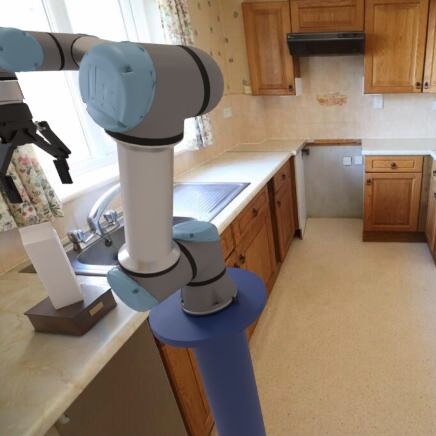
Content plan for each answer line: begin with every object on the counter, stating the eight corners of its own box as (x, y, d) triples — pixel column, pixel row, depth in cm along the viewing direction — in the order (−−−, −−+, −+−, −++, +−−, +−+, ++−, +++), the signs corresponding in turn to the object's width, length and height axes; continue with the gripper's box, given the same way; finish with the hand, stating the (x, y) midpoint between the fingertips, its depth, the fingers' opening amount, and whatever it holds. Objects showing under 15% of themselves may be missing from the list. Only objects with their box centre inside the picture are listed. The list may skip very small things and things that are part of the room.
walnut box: (118, 303, 92) (111, 286, 90) (81, 336, 81) (72, 318, 78) (75, 299, 95) (67, 283, 92) (33, 331, 83) (23, 313, 81)
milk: (84, 300, 85) (50, 225, 75) (55, 310, 81) (16, 233, 72) (82, 289, 89) (50, 217, 80) (54, 298, 86) (18, 224, 76)
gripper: (42, 98, 83) (73, 177, 92) (-81, 109, 61) (-24, 212, 70) (68, 97, 82) (96, 177, 91) (-48, 109, 60) (5, 213, 69)
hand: (44, 192), depth 80 cm, fingers open, 13 cm apart
